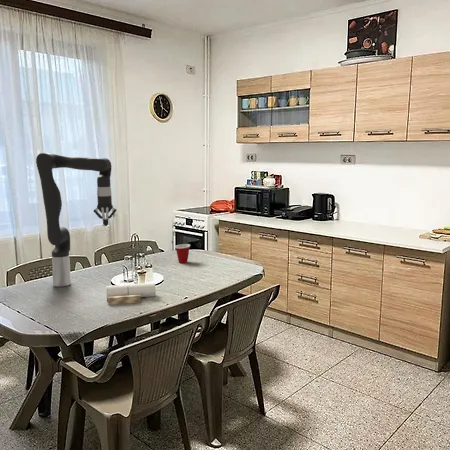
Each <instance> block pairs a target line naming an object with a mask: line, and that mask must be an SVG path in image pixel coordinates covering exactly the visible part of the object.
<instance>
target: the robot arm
mask: <svg viewBox="0 0 450 450" xmlns="http://www.w3.org/2000/svg"><path fill="white" fill-rule="evenodd" d="M35 163H36V168H37V171H38V175H39V179H40V186H41V192H42V199H43V205H44V210H45V218H46V231H47V234H46V235H47V239H48V242H49V243H50V244H51V245H52V246H54V248H53V249H52V251H51V260H52V261H51V263H52V270H51V271H52V272H51V274H52V286H53V287H56V288H57V287H58V288H60V287H67V286H69V285H71V284H72V281H71V262H70V260H71V259H70V250H71V234H70V232H69V229H68V228H67V227H65V226H60V215H61V212H62V211H61V210H62V206H63V201H62V196H61V195H62V193H61V192H60V189H59V186H58V185H57V183H56V181H55V179H54V175H53V169H59V168H60V169H61V168H64V169H65V168H67V169H68V168H69V169H72V170H81V171H94V172H98V176H97V179H96V183H97V187H96V188H97V189H96V190H97V191H96V195H97V205H96V207H95V208H94V209H93V212H94V214H95V215H96V216H97V217H98V218H99V219H102V225H103V226H104V227H107V226H108V225H109V219H112V217H113V216H114V215H115V214H116V212H117V208H115V207H114V206H113V203H112V202H113V201H112V197H113V196H112V187H111V175H112V163H111V160H110V159H109V158H105V157H104V158H103V157H102V158H96V157H95V158H94V157H93V158H91V157H88V156H68V155H67V156H66V155H59V154H57V153H56V154H55V153H52V152H40V153H39V154H38V155H36V159H35ZM99 212H100V213H99ZM110 212H111V213H110ZM109 213H110V215H109Z"/></svg>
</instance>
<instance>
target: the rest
mask: <svg viewBox="0 0 450 450" xmlns="http://www.w3.org/2000/svg"><path fill="white" fill-rule="evenodd" d="M141 298H142V297H141V296H140V295H127V296H112V297H108V305H123V304H134V303H135V304H137V303H141V301H142V299H141Z"/></svg>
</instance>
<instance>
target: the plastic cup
mask: <svg viewBox="0 0 450 450" xmlns="http://www.w3.org/2000/svg"><path fill="white" fill-rule="evenodd" d="M190 247H191V244H189V243H182V244H177V245H174V248H175V251H176V256H177V261H178V263H179V264H187V263H188V261H189V260H188V259H189V255H190V253H189V252H190Z"/></svg>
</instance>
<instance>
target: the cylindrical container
mask: <svg viewBox="0 0 450 450" xmlns="http://www.w3.org/2000/svg"><path fill="white" fill-rule="evenodd" d="M156 291H157V289H156V282H146V283H145V282H144V283H131V284H119V285H117V284H115V285H107V286H106V291H105V293H106V300H108V297H112V296H127V295H140V296H141V298H147V297H156V294H157V293H156Z"/></svg>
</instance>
